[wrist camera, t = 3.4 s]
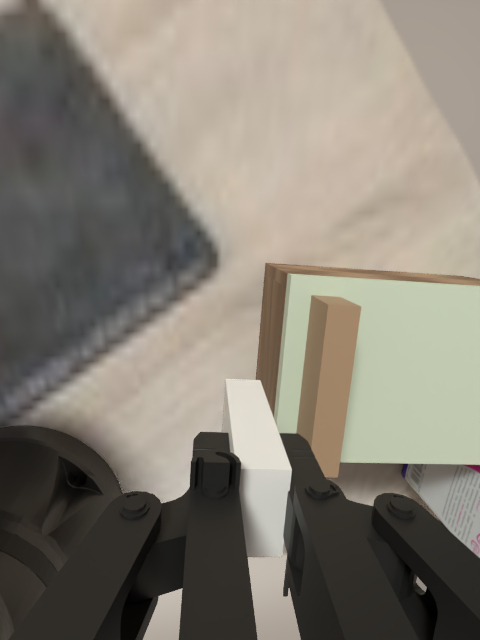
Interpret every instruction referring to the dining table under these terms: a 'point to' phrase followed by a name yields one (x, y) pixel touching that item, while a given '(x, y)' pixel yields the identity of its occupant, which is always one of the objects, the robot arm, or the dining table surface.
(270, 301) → the box
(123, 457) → the dining table surface
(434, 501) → the supplement box
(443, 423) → the lid
